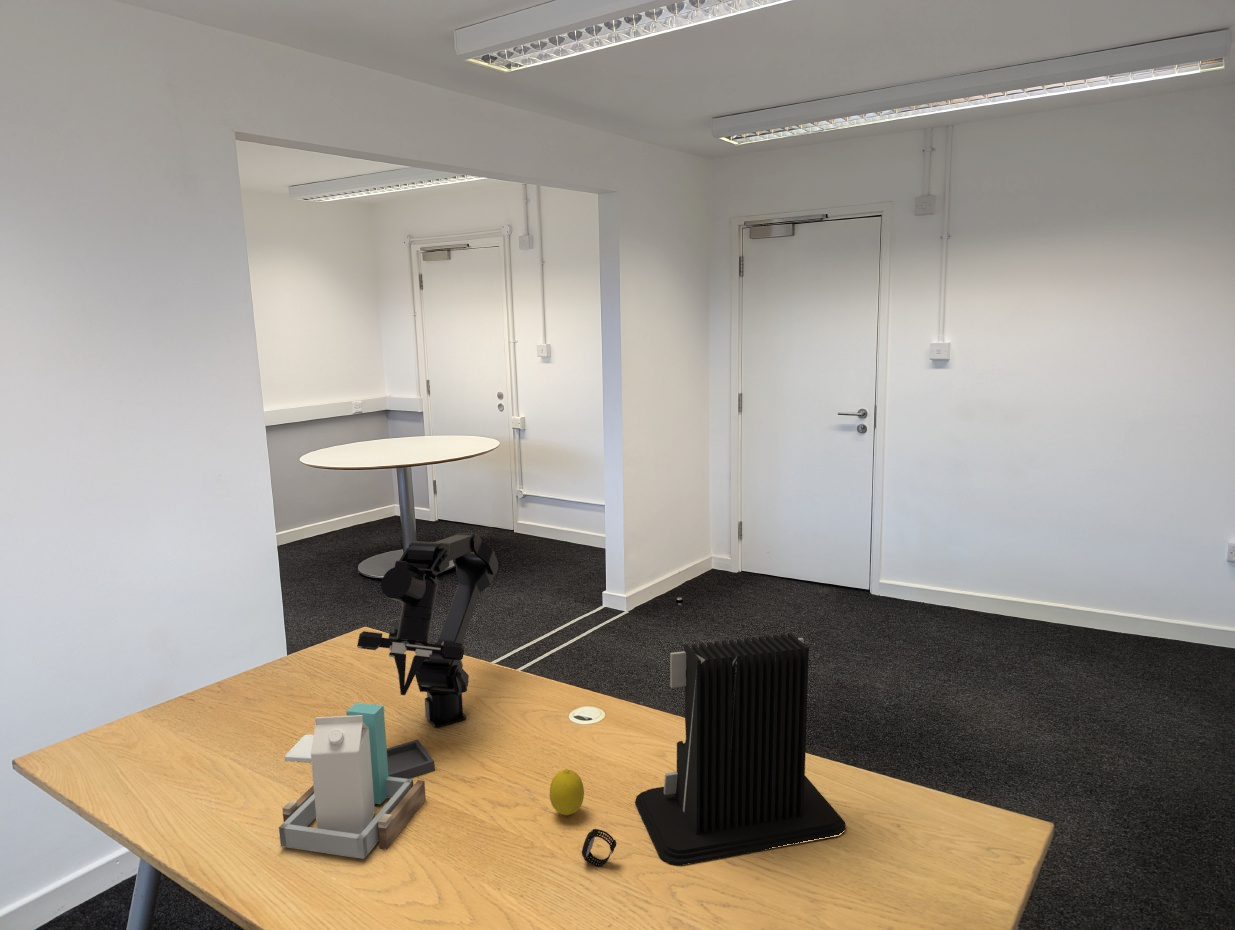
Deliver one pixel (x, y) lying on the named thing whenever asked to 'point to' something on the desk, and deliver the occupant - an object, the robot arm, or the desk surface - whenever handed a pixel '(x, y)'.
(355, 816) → the milk carton
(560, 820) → the desk surface
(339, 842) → the tray
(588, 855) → the smartwatch
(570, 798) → the lemon
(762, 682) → the black ribbed block
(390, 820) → the channel
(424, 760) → the tray
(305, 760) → the external hard drive
